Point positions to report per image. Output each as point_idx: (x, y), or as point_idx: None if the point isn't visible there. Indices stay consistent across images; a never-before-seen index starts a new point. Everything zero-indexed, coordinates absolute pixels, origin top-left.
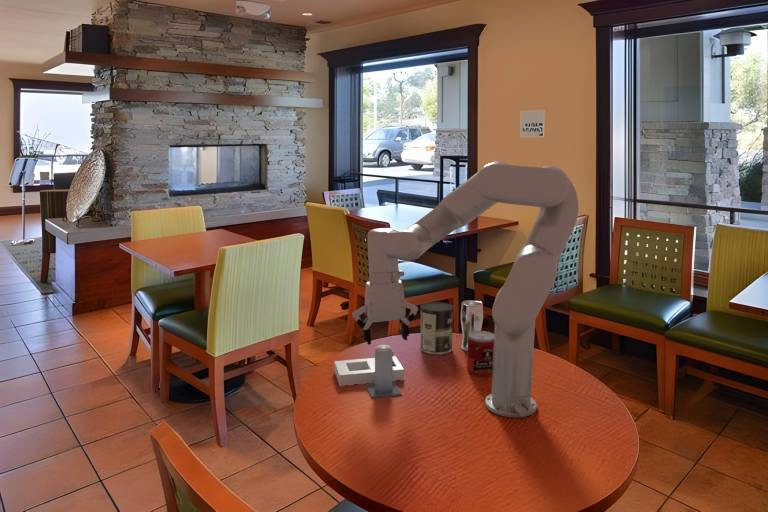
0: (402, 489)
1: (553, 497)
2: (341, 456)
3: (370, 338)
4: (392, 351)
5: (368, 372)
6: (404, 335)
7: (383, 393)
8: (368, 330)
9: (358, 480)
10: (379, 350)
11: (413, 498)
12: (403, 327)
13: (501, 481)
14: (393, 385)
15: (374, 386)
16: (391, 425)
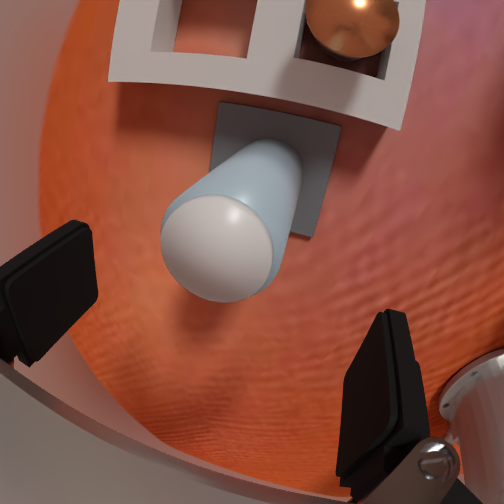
0: (178, 439)
1: (323, 490)
2: (110, 368)
3: (72, 322)
4: (397, 18)
5: (223, 89)
6: (342, 408)
7: None
8: (24, 362)
9: (131, 408)
10: (177, 276)
11: (186, 449)
12: (345, 455)
13: (294, 473)
14: (319, 160)
15: (243, 137)
16: (210, 350)
